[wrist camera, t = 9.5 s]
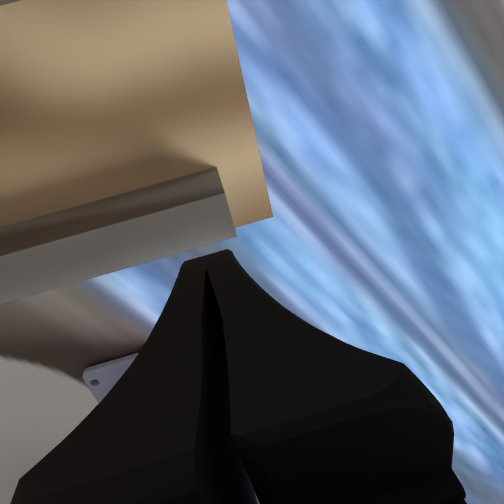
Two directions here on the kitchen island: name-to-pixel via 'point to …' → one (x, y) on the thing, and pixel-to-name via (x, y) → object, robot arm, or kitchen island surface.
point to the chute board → (119, 137)
